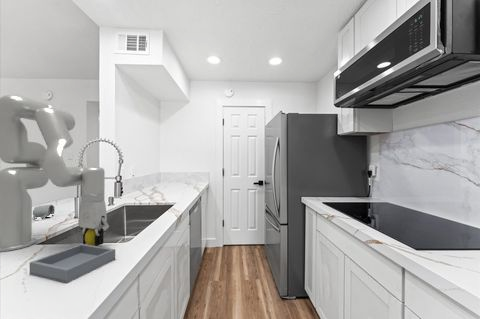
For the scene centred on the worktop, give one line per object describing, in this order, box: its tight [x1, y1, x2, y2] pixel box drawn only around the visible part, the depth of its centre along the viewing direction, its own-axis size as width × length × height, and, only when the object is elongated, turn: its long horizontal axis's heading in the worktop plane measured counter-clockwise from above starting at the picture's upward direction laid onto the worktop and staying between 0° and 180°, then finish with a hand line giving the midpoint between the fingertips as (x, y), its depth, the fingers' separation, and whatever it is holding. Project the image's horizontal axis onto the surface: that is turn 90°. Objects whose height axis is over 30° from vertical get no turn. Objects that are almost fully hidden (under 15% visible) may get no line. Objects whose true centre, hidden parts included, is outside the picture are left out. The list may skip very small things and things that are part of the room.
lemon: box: [85, 228, 101, 246], centre depth 89 cm, size 6×6×8 cm
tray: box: [29, 243, 116, 284], centre depth 73 cm, size 16×16×4 cm
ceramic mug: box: [32, 204, 55, 220], centre depth 134 cm, size 11×8×8 cm
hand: (93, 243), depth 89 cm, fingers closed on lemon, 5 cm apart
